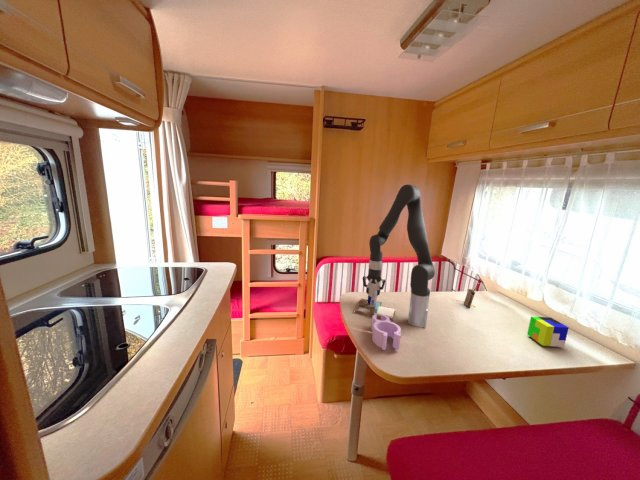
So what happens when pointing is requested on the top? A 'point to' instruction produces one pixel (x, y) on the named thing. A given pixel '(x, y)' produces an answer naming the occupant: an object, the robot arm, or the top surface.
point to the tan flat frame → (362, 304)
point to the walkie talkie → (469, 298)
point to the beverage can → (372, 295)
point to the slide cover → (383, 311)
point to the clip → (385, 332)
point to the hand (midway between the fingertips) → (372, 294)
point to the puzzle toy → (547, 331)
